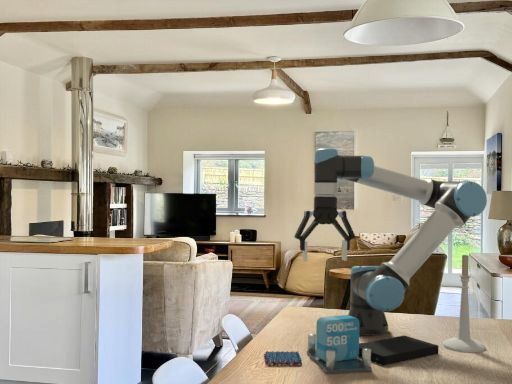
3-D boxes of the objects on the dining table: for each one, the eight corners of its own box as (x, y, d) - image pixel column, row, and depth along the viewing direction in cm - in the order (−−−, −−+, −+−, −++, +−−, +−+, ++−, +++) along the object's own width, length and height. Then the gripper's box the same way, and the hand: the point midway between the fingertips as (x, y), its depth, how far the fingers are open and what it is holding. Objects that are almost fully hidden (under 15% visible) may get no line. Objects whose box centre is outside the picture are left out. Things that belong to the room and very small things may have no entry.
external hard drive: (438, 355, 176) (438, 345, 176) (383, 367, 164) (383, 356, 164) (403, 344, 188) (403, 335, 188) (350, 354, 176) (350, 344, 176)
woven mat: (263, 357, 172) (263, 350, 172) (298, 357, 173) (298, 350, 173) (265, 368, 162) (265, 360, 162) (302, 368, 162) (302, 361, 162)
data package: (323, 363, 162) (324, 320, 162) (315, 358, 166) (316, 317, 166) (359, 358, 167) (359, 317, 167) (350, 354, 171) (351, 314, 171)
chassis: (346, 351, 178) (347, 332, 177) (372, 371, 158) (372, 350, 158) (306, 353, 175) (306, 333, 175) (327, 374, 156) (327, 352, 155)
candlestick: (475, 355, 176) (477, 257, 175) (436, 346, 184) (437, 253, 184) (491, 346, 185) (493, 254, 185) (453, 339, 194) (454, 250, 193)
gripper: (357, 196, 194) (356, 258, 195) (285, 195, 189) (285, 259, 190) (365, 196, 187) (364, 261, 187) (291, 195, 182) (291, 262, 182)
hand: (324, 260), depth 188 cm, fingers open, 13 cm apart
